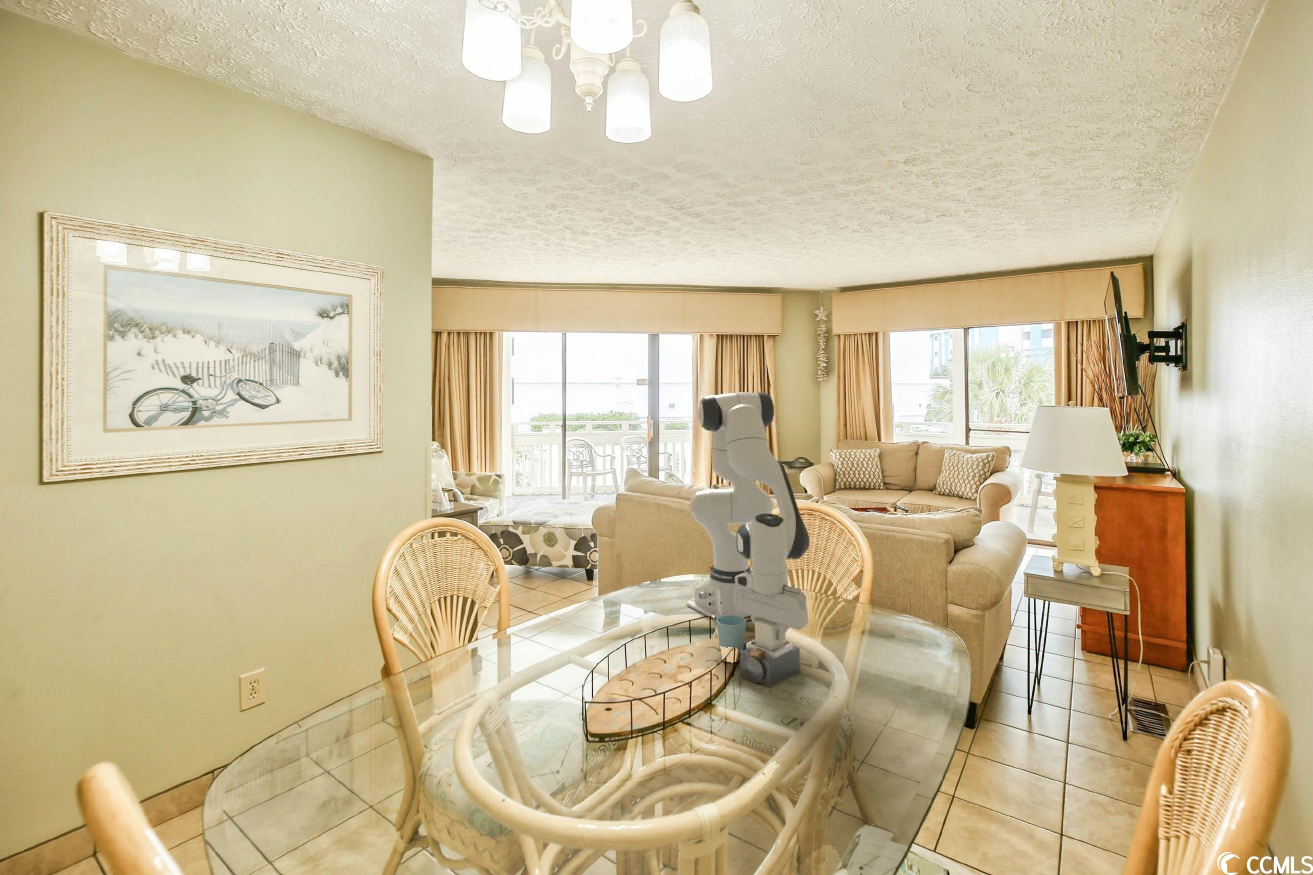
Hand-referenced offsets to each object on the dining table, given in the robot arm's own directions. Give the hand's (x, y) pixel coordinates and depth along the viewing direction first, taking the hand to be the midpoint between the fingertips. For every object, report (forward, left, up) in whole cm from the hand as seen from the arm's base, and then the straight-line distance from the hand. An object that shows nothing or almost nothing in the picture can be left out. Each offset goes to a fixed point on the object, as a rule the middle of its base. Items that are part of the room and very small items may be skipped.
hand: (769, 636), depth 151 cm
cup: (-12, -1, -10) cm, 15 cm away
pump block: (0, 0, -2) cm, 2 cm away
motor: (0, 0, -9) cm, 9 cm away
